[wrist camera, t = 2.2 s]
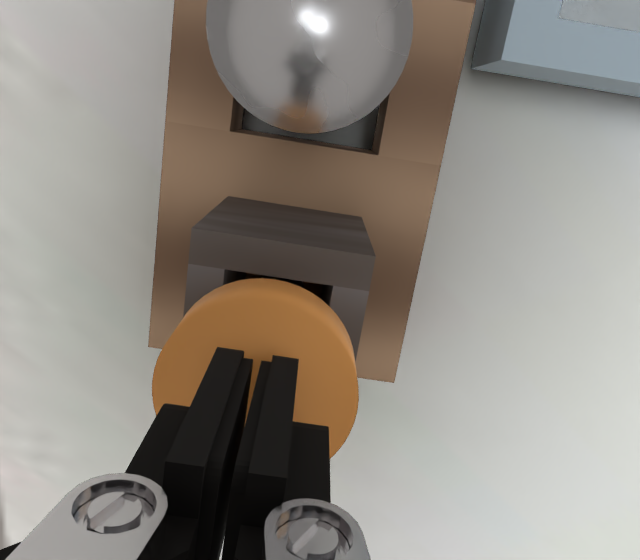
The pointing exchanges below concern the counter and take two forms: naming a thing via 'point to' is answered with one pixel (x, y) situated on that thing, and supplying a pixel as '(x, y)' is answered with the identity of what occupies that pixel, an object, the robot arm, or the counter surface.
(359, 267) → the socket block
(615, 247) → the counter surface
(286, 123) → the grey smooth thick cylinder
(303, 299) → the release button
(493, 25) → the blue-grey square frame
